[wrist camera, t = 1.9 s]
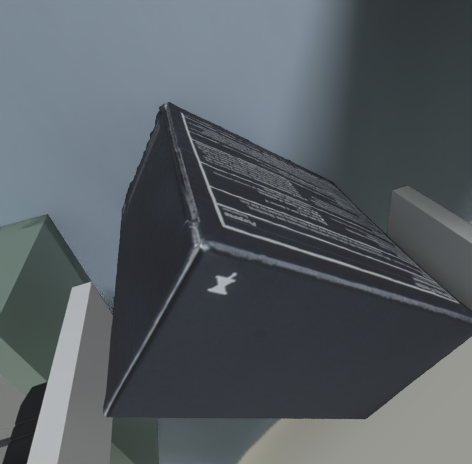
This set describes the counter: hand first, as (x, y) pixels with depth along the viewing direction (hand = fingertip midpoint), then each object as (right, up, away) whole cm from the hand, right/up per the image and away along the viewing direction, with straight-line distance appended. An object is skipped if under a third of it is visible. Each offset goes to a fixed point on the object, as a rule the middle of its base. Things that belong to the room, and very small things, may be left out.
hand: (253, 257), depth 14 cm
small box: (-1, +3, +4) cm, 5 cm away
